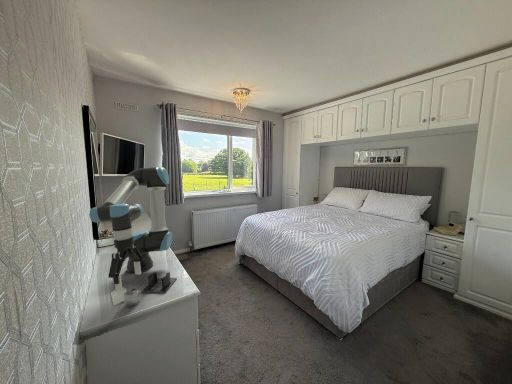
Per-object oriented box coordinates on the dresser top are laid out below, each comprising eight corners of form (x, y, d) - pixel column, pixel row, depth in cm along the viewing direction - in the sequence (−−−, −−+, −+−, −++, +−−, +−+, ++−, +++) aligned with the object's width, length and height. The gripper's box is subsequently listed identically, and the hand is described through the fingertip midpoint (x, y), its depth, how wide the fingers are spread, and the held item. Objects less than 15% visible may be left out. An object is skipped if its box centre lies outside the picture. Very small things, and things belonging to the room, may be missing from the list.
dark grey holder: (141, 292, 110) (140, 282, 109) (155, 279, 123) (153, 269, 122) (165, 292, 109) (164, 282, 108) (176, 279, 122) (175, 269, 121)
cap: (131, 299, 105) (129, 288, 104) (142, 299, 104) (141, 288, 103) (122, 308, 99) (120, 295, 98) (134, 308, 98) (133, 295, 97)
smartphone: (125, 286, 116) (130, 299, 105) (126, 287, 116) (130, 300, 105) (109, 292, 112) (112, 306, 100) (109, 293, 112) (112, 307, 100)
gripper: (133, 229, 110) (138, 268, 112) (93, 248, 85) (100, 298, 88) (147, 229, 109) (151, 268, 112) (111, 248, 84) (118, 297, 87)
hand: (129, 281), depth 100 cm, fingers open, 13 cm apart
